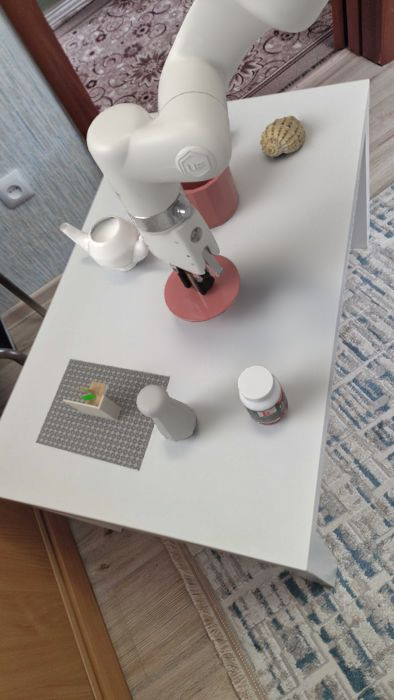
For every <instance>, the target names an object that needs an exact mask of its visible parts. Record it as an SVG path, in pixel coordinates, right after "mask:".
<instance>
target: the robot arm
mask: <svg viewBox="0 0 394 700" xmlns="http://www.w3.org/2000/svg"><path fill="white" fill-rule="evenodd" d="M329 1H330V0H194V1H193V2H192V4H191V6H190V7H189V10H188V12H187V13H186V15H185V17H184V19H183V21H182V24H181V25H180V28H179V30H178V32H177V35H176V37H175V39H174V41H173V43H172V46H171V48H170V50H169V52H168V55H167V57H166V60H165V62H164V65H163V68H162V70H161V73H160V77H159V80H158V86H157V87H158V89H157V116H156V117H154V118H153V117H152V116H151V114H150V113H149V112H148V110H146V109H145V108H144V107H143V106H141V105H139V104H137V103H133V102H122V103H117V104H114V105H112V106H109V107H108V108H106V109H104V110H103V111H102V112H100V113H99V114H98V115H96V117H95V118H94V119H93V121H92V122H91V124H90V125H89V127H88V129H87V133H86V144H87V148H88V151H89V153H90V155H91V157H92V158H93V160H94V162H95V163H96V165H97V167H98V168H99V170H100V171H101V173H102V175H103V176H104V177H105V179H106V181H107V183H108V184H109V186H110V187H111V189H112V190H113V192H114V194H115V195H116V198H118V200H119V202H120V204H121V205H122V207H123V208H124V209H125V212H126V213H127V215H128V216H129V217H130V219H131V222H132V223H133V224H134V225H135V227H136V228H137V230H138V233H139V236H140V235H141V237H142V238H143V240H144V242H145V244H146V245H147V247H148V248H149V252H150V253H151V254H152V255H153V256H155V257H156V258H157V259H159V260H161V261H164V262H165V263H168V264H169V266H170V267H171V269H172V271H173V270H174V271H175V272H179V273H178V276H179V278H180V279H181V281H182V283H183V284H184V286H185V287H186V288H190V287H191V286H192V284H191V283H190V281H189V279H188V277H187V275H186V274H185V272H184V270H187V271H189V272H191V273H192V274H193V276H194V277H195V279H194V282H195V284H196V286H197V288H198V290H199V291H200V293H201V294H202V295H206V293H207V292H208V290H210V289H211V288H212V286H213V285H214V281H215V279H214V277H219V276H220V274H221V273H222V272H223V270H224V269H223V268H222V267H221V266H220V264H219V263H218V262H217V261H216V260H215V259H214V258H213V256H212V255H214V256H218V255H220V254H221V251H220V247H219V245H218V243H217V241H216V237H215V236H214V235H213V232H212V231H211V229H209V227H208V225H207V224H206V222H205V221H204V219H203V217H202V216H201V215H200V213H199V212H198V211H197V209H196V208H195V207H194V206H193V205H191V204H190V203H189V200H188V197H187V195H186V193H185V191H184V189H183V186H182V184H181V182H199V181H205V180H209V179H211V178H214V177H216V176H218V175H219V174H221V173H222V172H223V171H224V170H225V169H226V167H227V166H228V165H230V161H231V159H232V153H233V152H232V151H233V143H232V135H231V126H230V118H229V109H228V100H227V99H228V98H227V90H228V88H229V86H230V83H231V82H232V79H233V77H234V76H235V75H236V73H237V71H238V69H239V68H240V66H241V64H242V62H243V61H244V59H245V57H246V55H248V53H249V52H250V50H251V48H252V47H253V46H254V45H255V43H256V42H257V41H258V40H259V39H260V38H261V37H262V36H263V35H265V34H266V33H267V32H269V31H271V30H272V29H276V30H278V31H281V32H284V33H291V34H293V33H295V34H296V33H301V32H304V31H306V30H308V29H309V28H310V27H311V26H312V25H313V24H314V23H315V22H316V21H317V19H318V18H319V16H320V15H321V13H322V11H323V10H324V9H325V7H326V5H328V3H329ZM211 254H212V255H211ZM213 276H214V277H213Z"/></svg>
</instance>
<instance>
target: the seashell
mask: <svg viewBox="0 0 394 700" xmlns="http://www.w3.org/2000/svg"><path fill="white" fill-rule="evenodd" d="M306 134H307V133H306V129H305V126H304V125H303V123H302V122H301V120H300V119H298V118H297V117H295V116H294V115H288V116H283V117H281V118H276V119H274V121H272V122H271V123H269V124H268V125H266V127H265V129H264V131H263V132H262V134H261V135H260V138H261V139H260V143H259V144H260V146H261V151H262V153H263V154H265V155H266V156H267V157H268V158H271V159H272V158H273V159H274V158H277V157H279V156H280V155H281V154H283V153H284V154H286V155H287V154H291V153H295V152H296V151H297V150H299V149H300V148H301V147H302V145H303V144H304V142H305V140H306Z"/></svg>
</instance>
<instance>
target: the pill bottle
mask: <svg viewBox="0 0 394 700" xmlns="http://www.w3.org/2000/svg"><path fill="white" fill-rule="evenodd" d="M237 387H238V396H239V399H240V402H241V403H242V404H243V407H244V408H245V409H246V411H247V412H248V413H249V415H250V416H251V418H252V419H253V420H254V421H255V422H256V423H258V422H259V423H258V424H260V425H262V426H273V425H276V424H278V423H280V422H281V421H282V420H283V419H284V418H285V417H286V415H287V412H288V409H289V406H288V400H287V396H286V394H285V392H284V390H283V387H282V385H281V383H280V380H279V378H277V376H275V375H274V374H273V373H272V372H271V371H270V370H269V369H268V368H266V367H265V366H262V365H251V366H248V367H247V368H245V369H244V370H242V372H241V373H240V375H239V377H238V380H237Z"/></svg>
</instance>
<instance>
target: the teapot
mask: <svg viewBox="0 0 394 700" xmlns="http://www.w3.org/2000/svg"><path fill="white" fill-rule="evenodd" d="M59 229H60V231H61V232H62V233H63V234H65V236H67V237H68V238H69V239H71V241H73V242H74V243H75V244H76V245H78V246H79V247H81V248H82V249H83V250H85V251H86V252H87V253H88V254H89V255H90V257H91V258H92V260H94V261H95V262H96V263H97V264H98V265H99V266H102V267H105V268H108V269H113V270H114V269H115V270H118V271H120V272H128V271H130V270H132V269H134V268H135V267H136V266H137V264H138V263H139V262H141V261H143V260H144V259H146V257H147V256H148V254H149V253H150V250H149V248H148V247H147V245H146V244H145V242H144V240H143V238H142V237H141V235H140V233H139V231H138V229H137V227H136V225H135V224H134V222H133V221H132V220H130V219H128V218H125V217H122V216H118V215H107V216H103V217H101V218H99V219H98V220H96V222H94V223H93V225H92V226H91V227H90V229H89V232H85V231H83V230H81V229H79V228H77V227H75V226H74V225H72V224H70V223H68V222H62V223H61V224H60V226H59Z"/></svg>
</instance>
